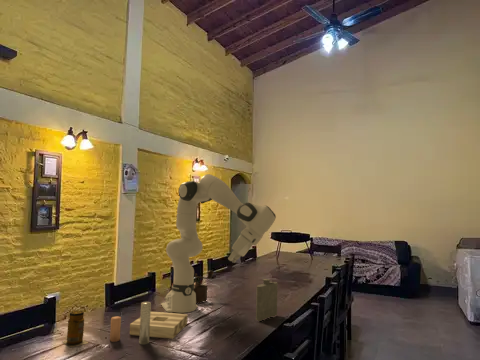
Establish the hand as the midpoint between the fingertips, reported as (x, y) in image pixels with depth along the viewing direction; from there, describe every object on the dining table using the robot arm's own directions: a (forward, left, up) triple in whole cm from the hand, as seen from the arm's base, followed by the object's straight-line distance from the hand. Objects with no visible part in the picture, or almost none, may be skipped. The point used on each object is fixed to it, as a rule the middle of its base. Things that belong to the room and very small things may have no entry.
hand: (231, 260), depth 161 cm
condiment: (-25, -59, -33) cm, 72 cm away
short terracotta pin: (-20, -44, -33) cm, 59 cm away
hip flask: (-10, +30, -33) cm, 46 cm away
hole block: (-23, -23, -33) cm, 46 cm away
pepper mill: (-58, +17, -33) cm, 69 cm away
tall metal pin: (-11, -35, -33) cm, 49 cm away
